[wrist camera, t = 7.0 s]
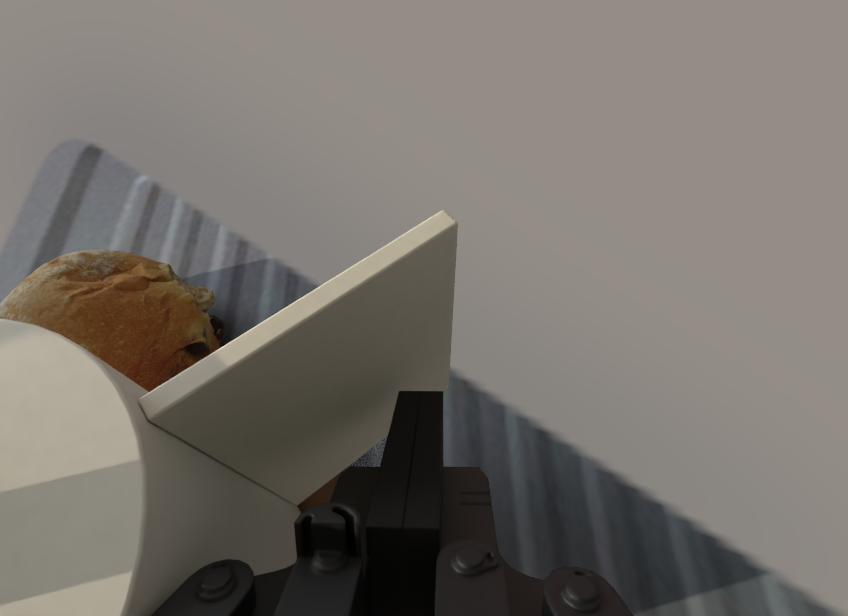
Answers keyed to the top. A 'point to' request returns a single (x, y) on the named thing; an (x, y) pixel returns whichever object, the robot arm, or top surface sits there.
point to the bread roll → (121, 312)
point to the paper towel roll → (206, 436)
